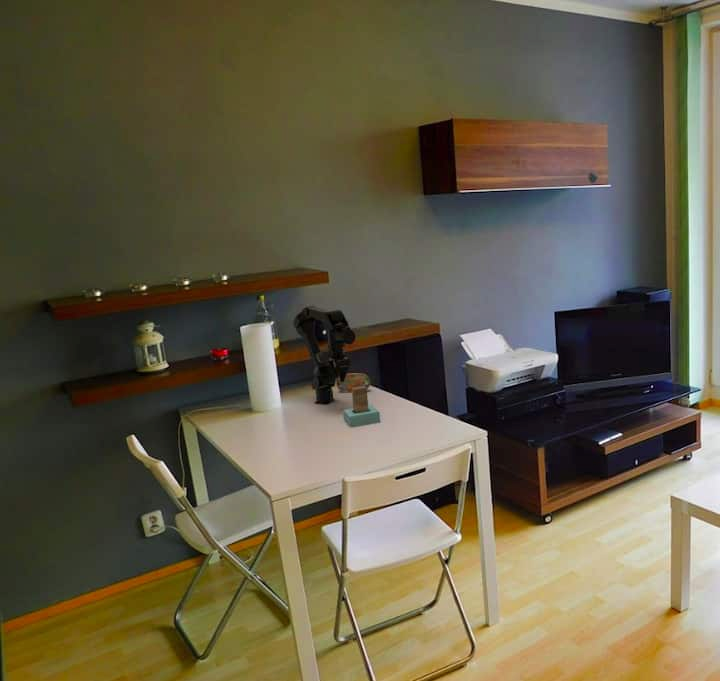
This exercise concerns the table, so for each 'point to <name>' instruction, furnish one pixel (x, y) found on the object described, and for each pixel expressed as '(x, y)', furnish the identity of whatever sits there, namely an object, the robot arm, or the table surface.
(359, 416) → the rectangular frame
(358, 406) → the slat
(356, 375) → the tin
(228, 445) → the table surface
